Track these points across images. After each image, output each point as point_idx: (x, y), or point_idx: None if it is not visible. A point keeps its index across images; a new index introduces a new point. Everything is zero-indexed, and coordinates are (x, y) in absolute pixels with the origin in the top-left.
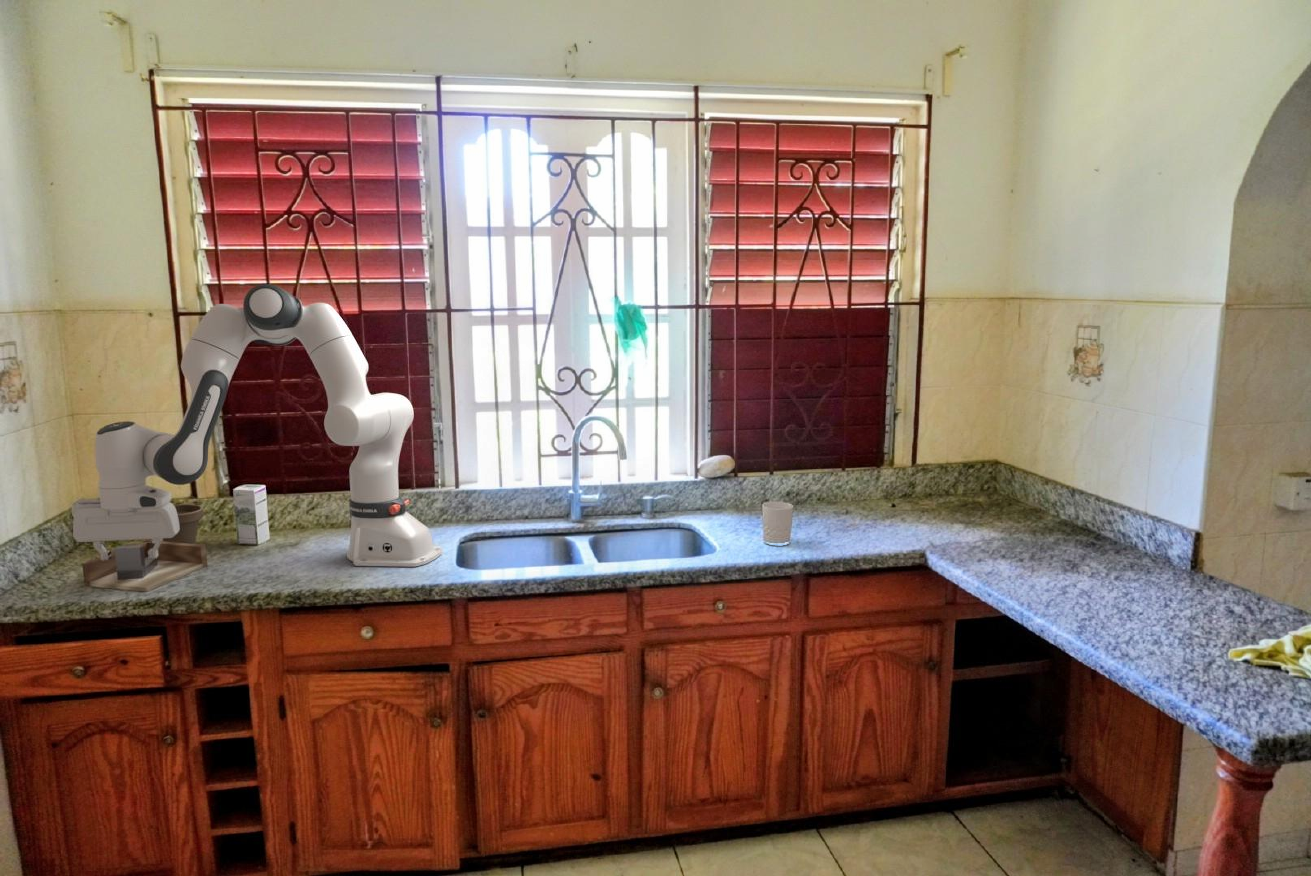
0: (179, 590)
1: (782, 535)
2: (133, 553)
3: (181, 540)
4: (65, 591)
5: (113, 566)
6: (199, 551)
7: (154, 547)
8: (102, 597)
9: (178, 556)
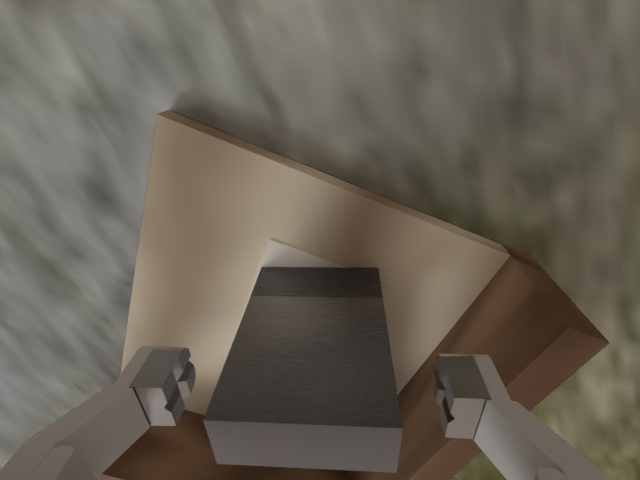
0: (8, 109)
1: None
2: (265, 379)
3: None
4: (618, 188)
5: None
6: None
7: (91, 409)
8: (385, 40)
9: None
